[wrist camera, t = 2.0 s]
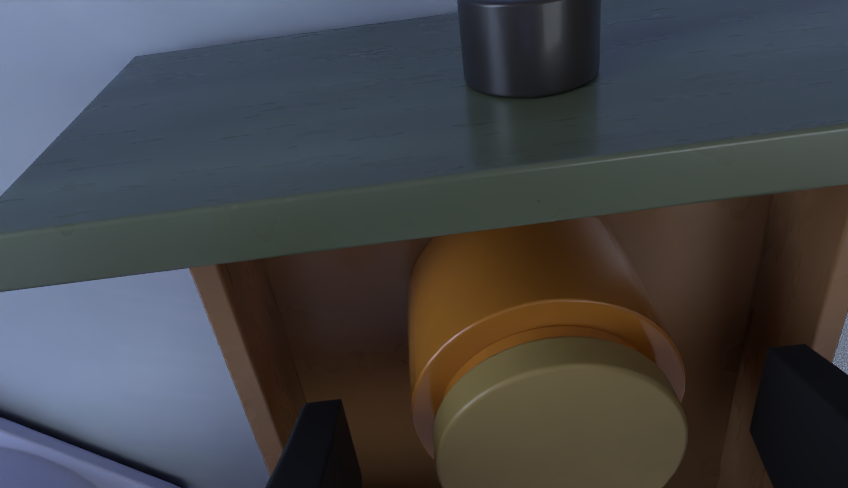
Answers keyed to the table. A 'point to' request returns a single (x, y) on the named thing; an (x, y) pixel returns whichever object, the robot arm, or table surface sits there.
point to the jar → (542, 362)
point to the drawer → (467, 193)
